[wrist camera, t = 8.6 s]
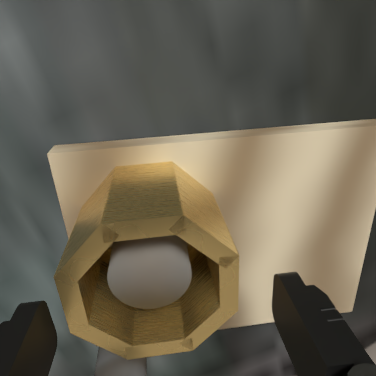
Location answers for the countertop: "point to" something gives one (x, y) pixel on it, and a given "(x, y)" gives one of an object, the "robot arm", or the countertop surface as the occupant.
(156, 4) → the countertop surface
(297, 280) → the robot arm
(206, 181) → the maple board
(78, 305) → the brass collar
